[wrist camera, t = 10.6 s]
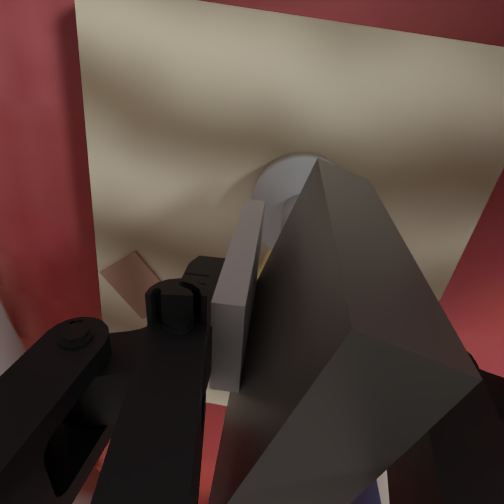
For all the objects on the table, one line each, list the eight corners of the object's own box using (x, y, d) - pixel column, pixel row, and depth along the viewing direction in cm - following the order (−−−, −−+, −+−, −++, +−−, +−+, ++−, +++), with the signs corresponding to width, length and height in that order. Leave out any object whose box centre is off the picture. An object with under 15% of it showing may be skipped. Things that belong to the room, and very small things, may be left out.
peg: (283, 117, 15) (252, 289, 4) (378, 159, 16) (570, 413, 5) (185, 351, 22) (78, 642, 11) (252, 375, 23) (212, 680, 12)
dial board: (98, -11, 15) (69, -20, 14) (527, 54, 15) (561, 55, 13) (120, 362, 26) (106, 386, 24) (370, 406, 26) (376, 435, 24)
